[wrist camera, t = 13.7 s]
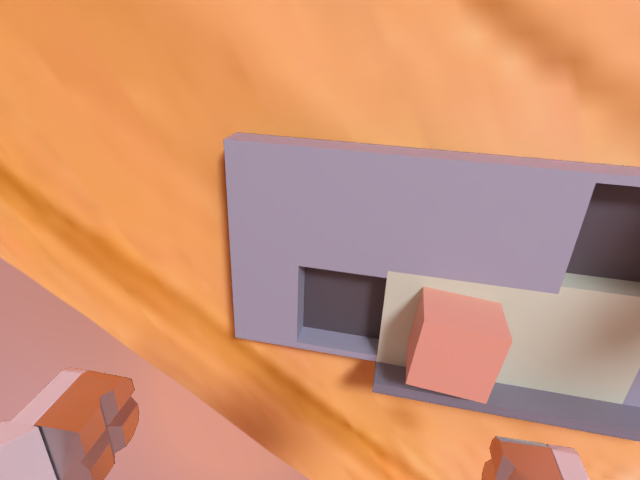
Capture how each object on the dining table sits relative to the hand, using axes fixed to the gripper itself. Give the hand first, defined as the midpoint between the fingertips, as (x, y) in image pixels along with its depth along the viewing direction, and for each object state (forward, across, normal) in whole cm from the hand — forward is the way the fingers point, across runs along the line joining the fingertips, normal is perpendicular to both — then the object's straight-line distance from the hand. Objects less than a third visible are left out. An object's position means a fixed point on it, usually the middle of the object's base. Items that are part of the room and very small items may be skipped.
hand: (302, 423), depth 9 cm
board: (+18, -7, +5) cm, 19 cm away
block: (+15, -6, +8) cm, 18 cm away
